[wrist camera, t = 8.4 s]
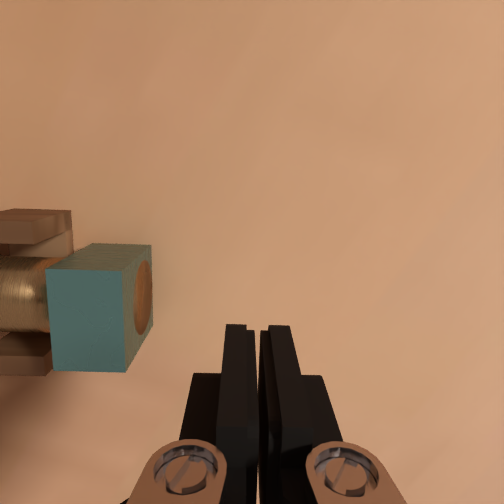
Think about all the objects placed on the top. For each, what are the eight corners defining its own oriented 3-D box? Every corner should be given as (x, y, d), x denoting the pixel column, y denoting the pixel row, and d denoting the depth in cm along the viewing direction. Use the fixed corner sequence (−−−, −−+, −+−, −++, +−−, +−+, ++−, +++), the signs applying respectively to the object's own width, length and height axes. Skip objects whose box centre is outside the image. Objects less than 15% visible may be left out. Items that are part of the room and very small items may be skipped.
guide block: (13, 208, 22) (-39, 219, 18) (70, 210, 22) (31, 221, 18) (26, 338, 23) (-19, 374, 19) (79, 339, 23) (45, 376, 19)
